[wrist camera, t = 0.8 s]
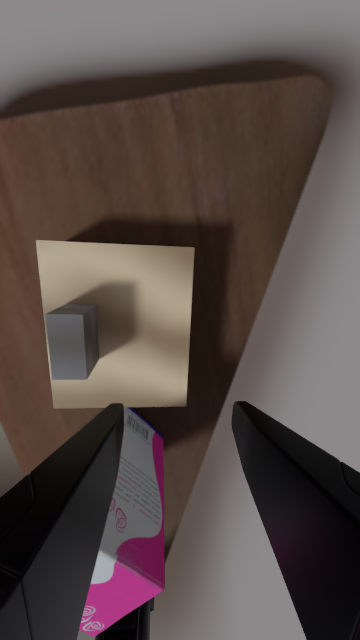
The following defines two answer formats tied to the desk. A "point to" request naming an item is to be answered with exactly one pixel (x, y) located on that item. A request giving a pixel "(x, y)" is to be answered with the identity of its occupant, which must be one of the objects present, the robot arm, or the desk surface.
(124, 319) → the lid
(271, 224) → the desk surface
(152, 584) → the supplement box
